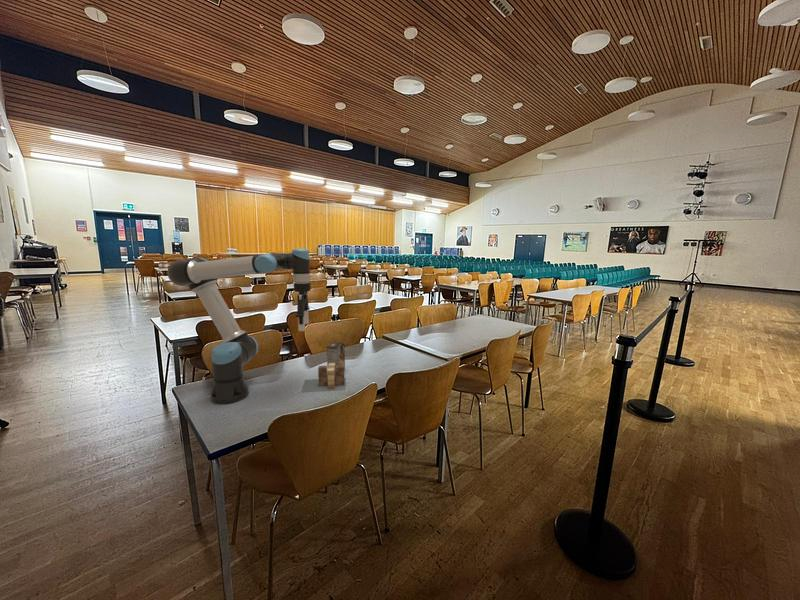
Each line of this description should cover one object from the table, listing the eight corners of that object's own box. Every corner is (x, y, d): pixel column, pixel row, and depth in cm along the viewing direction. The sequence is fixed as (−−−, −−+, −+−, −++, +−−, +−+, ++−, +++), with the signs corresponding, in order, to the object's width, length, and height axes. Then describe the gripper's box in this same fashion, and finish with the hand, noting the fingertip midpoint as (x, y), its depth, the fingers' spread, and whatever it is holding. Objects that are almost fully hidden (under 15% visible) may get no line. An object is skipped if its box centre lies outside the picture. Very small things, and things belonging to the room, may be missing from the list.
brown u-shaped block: (318, 386, 158) (318, 368, 156) (319, 383, 161) (318, 366, 159) (344, 385, 160) (344, 367, 158) (344, 382, 163) (344, 364, 161)
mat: (300, 394, 152) (300, 392, 152) (305, 381, 165) (305, 379, 165) (345, 392, 155) (345, 390, 154) (345, 379, 168) (345, 377, 168)
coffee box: (334, 370, 180) (333, 341, 178) (345, 371, 179) (344, 342, 176) (327, 376, 172) (326, 347, 169) (339, 378, 170) (338, 347, 167)
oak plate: (334, 388, 156) (334, 370, 154) (328, 389, 155) (327, 370, 154) (335, 380, 165) (335, 362, 164) (329, 380, 165) (328, 363, 163)
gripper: (306, 286, 142) (308, 334, 146) (313, 279, 167) (314, 320, 170) (288, 286, 141) (290, 334, 145) (297, 279, 166) (299, 321, 169)
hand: (303, 327), depth 158 cm, fingers open, 13 cm apart
